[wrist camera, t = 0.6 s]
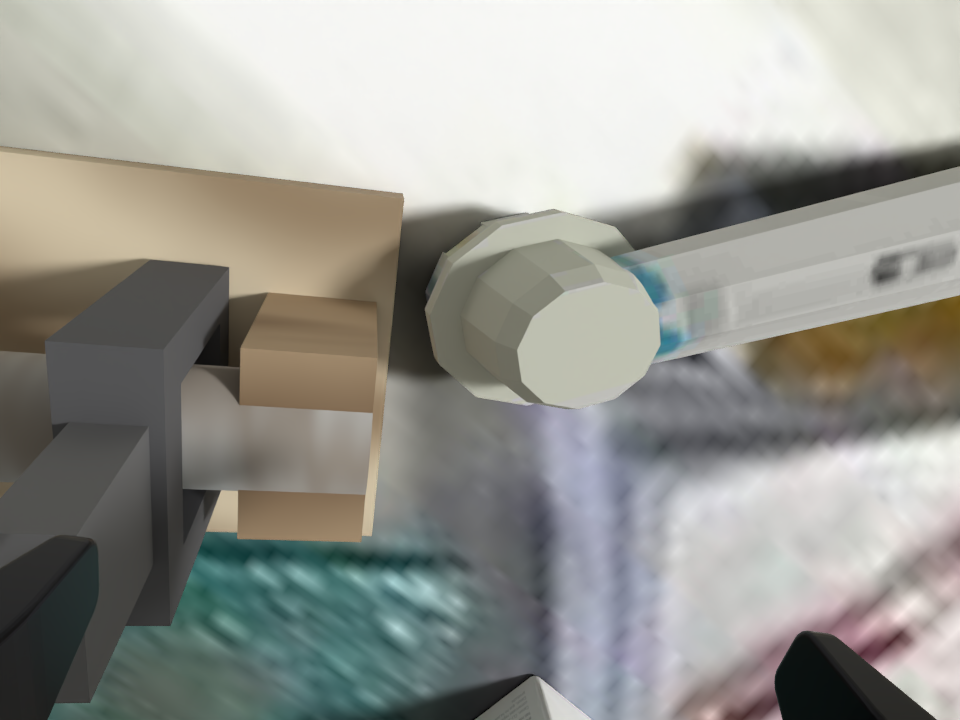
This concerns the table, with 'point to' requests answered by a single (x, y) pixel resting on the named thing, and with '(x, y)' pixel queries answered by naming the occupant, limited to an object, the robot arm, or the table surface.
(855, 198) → the grey piece
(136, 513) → the collar
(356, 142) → the table surface
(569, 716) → the ink cartridge box
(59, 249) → the pipe stand
